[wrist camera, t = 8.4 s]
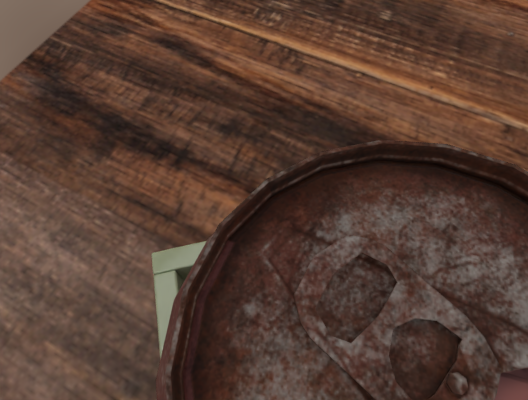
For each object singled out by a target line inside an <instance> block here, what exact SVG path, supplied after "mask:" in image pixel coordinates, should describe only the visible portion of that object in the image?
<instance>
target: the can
mask: <svg viewBox="0 0 528 400" xmlns="http://www.w3.org/2000/svg"><path fill="white" fill-rule="evenodd" d="M156 392H157V400H528V172H527V171H525V170H524V169H522V168H520V167H518V166H516V165H514V164H511V163H508V162H504V161H501V160H498V159H495V158H491V157H488V156H485V155H481V154H478V153H475V152H471V151H468V150H465V149H461V148H458V147H455V146H451V145H448V144H438V143H422V142H407V141H391V140H379V141H374V142H368V143H363V144H358V145H353V146H347V147H342V148H337V149H332V150H326V151H321V152H319V153H317V154H315V155H313V156H311V157H309V158H307V159H305V160H303V161H301V162H299V163H297V164H295V165H293V166H291V167H289V168H287V169H285V170H284V171H282V172H280V173H278V174H276V175H274V176H272V177H270V178H268V179H266V180H265V181H264V182H263V183H262V184H261V185H260V186H259V187H258V188H256V189H255V190H254V191H253V192H252V193H251V194H250V195H249V196H248V197H247V198H246V199H245V200H244V201H243V202H242V203H241V204H240V205H239V206H238V207H237V208H236V209H235V210H233V211H232V212H231V213H230V214H229V215H228V216H227V217H226V218H225V219H224V220H223V221H222V222H221V223H220V224H219V225H218V227H217V229H216V231H215V232H214V233H213V234H212V235H211V236H210V237H209V238H208V240H207V241H206V243H205V245H204V247H203V249H202V250H201V252H200V254H199V256H198V258H197V259H196V261H195V263H194V265H193V267H192V268H191V270H190V272H189V274H188V275H187V277H186V279H185V281H184V283H183V284H182V286H181V288H180V290H179V292H178V293H177V295H176V297H175V299H174V301H173V306H172V310H171V315H170V319H169V324H168V328H167V333H166V337H165V341H164V346H163V350H162V355H161V359H160V364H159V368H158V373H157V377H156Z"/></svg>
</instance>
